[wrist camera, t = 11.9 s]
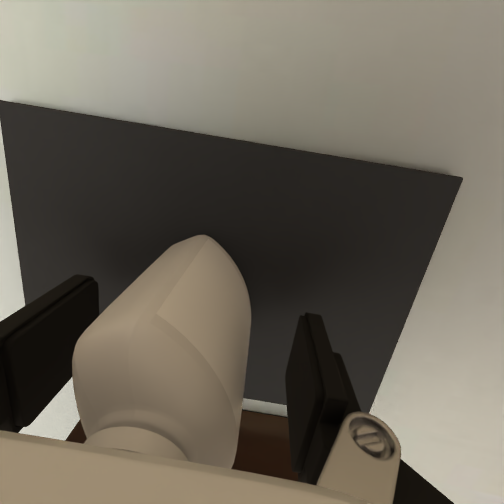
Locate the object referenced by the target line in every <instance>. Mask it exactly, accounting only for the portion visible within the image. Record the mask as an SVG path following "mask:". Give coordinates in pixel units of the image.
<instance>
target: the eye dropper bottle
mask: <svg viewBox="0 0 504 504" xmlns="http://www.w3.org/2000/svg"><path fill="white" fill-rule="evenodd" d="M250 328H251V305H250V299H249V294H248V290H247V287H246V284H245V281H244V279H243V277H242V275H241V273H240V271H239V269H238V267H237V266H236V264H235V263H234V261H233V260H232V258H231V257H230V256H229V255H228V253H227V252H226V251H225V250H224V249H223V248H222V247H221V246H220V245H219V244H218V243H217V242H216V241H215V240H214V239H212V238H211V237H209V236H207V235H197V236H194V237H191V238H188V239H186V240H183V241H181V242H178V243H176V244H174V245H172V246H171V247H170V248H168V249H167V250H166V251H165V252H164V253H163V254H162V255H161V256H160V257H159V258H158V259H157V260H156V261H155V262H154V263H153V264H152V265H150V266H149V267H148V268H147V269H146V270H145V271H144V272H143V273H142V274H141V275H140V276H139V277H138V278H137V279H136V280H135V281H134V282H133V283H132V284H131V285H130V286H129V287H128V288H127V289H126V290H125V291H124V292H123V293H122V294H121V295H120V296H119V297H118V298H116V299H115V300H114V301H113V302H112V303H111V304H110V305H109V306H108V307H107V308H106V309H105V310H104V311H103V312H102V313H101V314H100V315H99V316H98V317H97V319H96V320H95V321H94V322H93V323H92V324H91V325H90V326H89V327H88V328H87V329H86V330H85V331H84V332H83V334H82V335H81V336H80V338H79V339H78V340H77V343H76V345H75V349H74V353H73V358H72V377H73V385H74V393H75V398H76V403H77V408H78V412H79V416H80V419H81V423H82V426H83V429H84V432H85V434H86V437H87V440H86V441H85V443H84V444H87V445H93V446H99V447H105V448H111V449H117V450H123V451H129V452H135V453H141V454H147V455H153V456H159V457H165V458H170V459H176V460H182V461H188V462H193V463H199V464H205V465H211V466H216V467H222V468H228V469H231V468H232V466H233V463H234V460H235V456H236V451H237V444H238V436H239V428H240V421H241V412H242V403H243V394H244V385H245V376H246V366H247V357H248V347H249V338H250Z"/></svg>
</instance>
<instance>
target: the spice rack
mask: <svg viewBox="0 0 504 504" xmlns="http://www.w3.org/2000/svg"><path fill="white" fill-rule="evenodd" d="M86 440H87V437H86V434H85V432H84V429H83V426H82V423H81V419H80V420H79V422H78V423H77V425H76V426H75V427H74V429H73V430H72V432H71V433H70V435H69V436H68V437H67V439H66V440H65V441H69V442H75V443H81V444H84V443H85V441H86ZM231 469H234V470H239V471H245V472H251V473H256V474H261V475H266V476H271V477H276V478H282V479H287V480H292V481H297V482H298V473H297V472H293V471H292V468H291V455H290V441H289V427H288V418H286V417H280V416H274V415H268V414H262V413H256V412H250V411H244V410H242V412H241V421H240V428H239V436H238V444H237V451H236V456H235V460H234V463H233V466H232V468H231Z"/></svg>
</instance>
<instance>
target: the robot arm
mask: <svg viewBox="0 0 504 504" xmlns="http://www.w3.org/2000/svg"><path fill="white" fill-rule="evenodd" d="M98 316H99V288H98V282H97V281H95V280H94V278H93V277H91V276H85V275H79V274H76V275H74V276H72V277H70V278H69V279H67V280H66V281H64V282H62V283H61V284H59V285H58V286H56V287H55V288H53V289H51V290H50V291H48V292H47V293H45V294H43V295H42V296H40V297H39V298H37V299H36V300H34V301H32V302H31V303H29V304H28V305H26V306H25V307H23V308H21V309H20V310H18V311H17V312H15V313H13V314H12V315H10V316H9V317H7V318H6V319H4V320H2V321H1V322H0V504H454V503H453V502H452V501H450V500H449V499H448V498H447V497H446V496H444V495H443V494H442V493H441V492H440V491H438V490H437V489H436V488H435V487H434V486H432V485H431V484H430V483H429V482H428V481H426V480H425V479H424V478H423V477H422V476H420V475H419V474H418V473H417V472H416V471H414V470H413V469H412V468H411V467H410V466H408V465H407V464H406V463H405V462H404V461H402V460H401V459H400V458H401V446H400V443H399V441H398V438H397V437H396V435H395V434H394V432H393V431H392V430H391V429H390V428H389V427H388V426H387V425H386V424H385V423H384V422H383V421H381V420H380V419H379V418H377V417H375V416H373V415H371V414H369V413H364V412H361V409H360V406H359V403H358V400H357V398H356V395H355V392H354V389H353V386H352V384H351V381H350V378H349V375H348V372H347V370H346V367H345V364H344V361H343V358H342V356H341V354H340V353H336V352H333V350H332V347H331V344H330V341H329V338H328V335H327V332H326V329H325V326H324V322H323V319H322V316H321V315H319V314H313V313H307V312H306V313H305V315H304V316H302V315H300V317H299V320H298V324H297V328H296V332H295V336H294V340H293V344H292V348H291V352H290V356H289V360H288V364H287V368H286V374H285V385H286V399H287V413H288V427H289V441H290V455H291V468H292V471H293V472H297V473H298V482H297V481H292V480H287V479H282V478H276V477H271V476H266V475H261V474H256V473H251V472H245V471H239V470H234V469H228V468H222V467H216V466H211V465H205V464H199V463H193V462H188V461H182V460H176V459H170V458H165V457H159V456H153V455H147V454H141V453H135V452H129V451H123V450H117V449H111V448H105V447H99V446H93V445H87V444H81V443H75V442H69V441H63V440H57V439H51V438H45V437H39V436H33V435H27V434H20V433H18V432H19V431H20V430H21V429H22V428H23V427H27V426H29V425H30V424H31V423H32V422H33V421H34V420H35V418H36V417H37V416H38V415H39V414H40V413H41V412H42V410H43V409H44V408H45V407H46V406H47V405H48V404H49V403H50V401H51V400H52V399H53V398H54V397H55V396H56V395H57V393H58V392H59V391H60V390H61V389H62V388H63V387H64V385H65V384H66V383H67V382H68V381H69V380H70V379H71V377H72V358H73V353H74V349H75V345H76V343H77V340H78V339H79V338H80V336H81V335H82V334H83V332H84V331H85V330H86V329H87V328H88V327H89V326H90V325H91V324H92V323H93V322H94V321H95V320H96V319H97V317H98Z"/></svg>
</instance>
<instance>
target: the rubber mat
mask: <svg viewBox="0 0 504 504" xmlns="http://www.w3.org/2000/svg"><path fill="white" fill-rule="evenodd" d="M0 121H1V129H2V136H3V143H4V151H5V158H6V165H7V173H8V180H9V188H10V195H11V202H12V210H13V217H14V224H15V232H16V239H17V247H18V254H19V261H20V269H21V276H22V283H23V291H24V298H25V306H26V305H28V304H29V303H31V302H32V301H34V300H36V299H37V298H39V297H40V296H42V295H43V294H45V293H47V292H48V291H50V290H51V289H53V288H55V287H56V286H58V285H59V284H61V283H62V282H64V281H66V280H67V279H69V278H70V277H72V276H74V275H76V274H79V275H85V276H91V277H93V278H94V280H95V281H97V282H98V288H99V315H100V314H101V313H102V312H103V311H104V310H105V309H106V308H107V307H108V306H109V305H110V304H111V303H112V302H113V301H114V300H115V299H116V298H118V297H119V296H120V295H121V294H122V293H123V292H124V291H125V290H126V289H127V288H128V287H129V286H130V285H131V284H132V283H133V282H134V281H135V280H136V279H137V278H138V277H139V276H140V275H141V274H142V273H143V272H144V271H145V270H146V269H147V268H148V267H149V266H150V265H152V264H153V263H154V262H155V261H156V260H157V259H158V258H159V257H160V256H161V255H162V254H163V253H164V252H165V251H166V250H167V249H168V248H170V247H171V246H172V245H174V244H176V243H178V242H181V241H183V240H186V239H188V238H191V237H194V236H197V235H207V236H209V237H211V238H212V239H214V240H215V241H216V242H217V243H218V244H219V245H220V246H221V247H222V248H223V249H224V250H225V251H226V252H227V253H228V255H229V256H230V257H231V258H232V260H233V261H234V263H235V264H236V266H237V267H238V269H239V271H240V273H241V275H242V277H243V279H244V281H245V284H246V287H247V290H248V294H249V299H250V305H251V328H250V338H249V347H248V357H247V366H246V376H245V385H244V394H243V398H247V399H253V400H259V401H265V402H271V403H277V404H283V405H287V399H286V385H285V374H286V368H287V364H288V360H289V356H290V352H291V348H292V344H293V340H294V336H295V332H296V328H297V324H298V320H299V317H300V315H302V316H304V315H305V313H306V312H307V313H313V314H319V315H321V316H322V319H323V322H324V326H325V329H326V332H327V335H328V338H329V341H330V344H331V347H332V350H333V352H336V353H340V354H341V356H342V358H343V361H344V364H345V367H346V370H347V372H348V375H349V378H350V381H351V384H352V386H353V389H354V392H355V395H356V398H357V400H358V403H359V406H360V409H361V412H364V413H369V411H370V409H371V407H372V404H373V402H374V399H375V397H376V394H377V392H378V389H379V387H380V384H381V382H382V379H383V377H384V374H385V372H386V369H387V367H388V364H389V362H390V359H391V357H392V354H393V352H394V349H395V347H396V344H397V342H398V339H399V337H400V334H401V332H402V329H403V327H404V324H405V322H406V319H407V317H408V314H409V312H410V309H411V307H412V304H413V302H414V299H415V297H416V295H417V292H418V290H419V287H420V285H421V282H422V280H423V277H424V275H425V272H426V270H427V267H428V265H429V262H430V260H431V257H432V255H433V252H434V250H435V247H436V245H437V242H438V240H439V237H440V235H441V232H442V230H443V227H444V225H445V222H446V220H447V217H448V215H449V212H450V210H451V207H452V205H453V202H454V200H455V197H456V195H457V192H458V190H459V187H460V185H461V182H462V180H463V178H462V177H457V176H451V175H445V174H439V173H433V172H427V171H421V170H415V169H409V168H403V167H397V166H391V165H385V164H379V163H373V162H367V161H361V160H355V159H349V158H343V157H337V156H331V155H325V154H319V153H313V152H307V151H301V150H295V149H289V148H283V147H277V146H271V145H265V144H259V143H253V142H247V141H241V140H235V139H229V138H224V137H218V136H212V135H206V134H200V133H194V132H188V131H182V130H176V129H170V128H164V127H158V126H152V125H146V124H140V123H134V122H128V121H122V120H116V119H110V118H104V117H98V116H92V115H86V114H80V113H74V112H68V111H62V110H56V109H50V108H44V107H38V106H32V105H26V104H20V103H14V102H8V101H2V100H0Z"/></svg>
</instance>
